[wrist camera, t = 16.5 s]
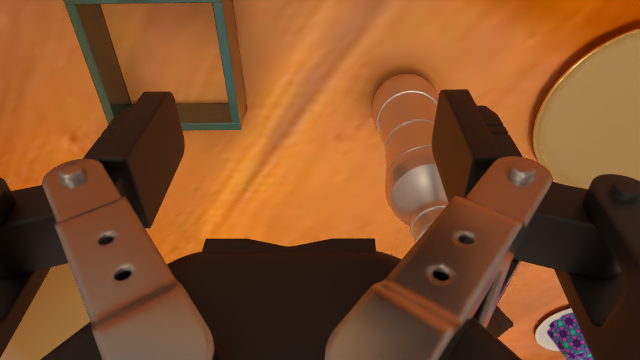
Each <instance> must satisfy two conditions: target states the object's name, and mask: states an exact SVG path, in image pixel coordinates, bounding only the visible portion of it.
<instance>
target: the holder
mask: <svg viewBox="0 0 640 360" xmlns="http://www.w3.org/2000/svg"><path fill="white" fill-rule="evenodd" d="M202 2H213V10H214V16H215V22H216V28H217V34H218V40H219V47H220V53H221V59H222V65H223V71H224V77H225V83H226V90H227V96H228V102H229V103H212V104H176V107H177V111H178V115H179V119H180V123H181V127H182V130H241V129H242V125H243V122H244V118H245V115H246V112H247V105H246V97H245V89H244V82H243V74H242V67H241V60H240V52H239V45H238V37H237V30H236V23H235V15H234V8H233V0H64V3H65V4H66V5H65V6H66V8H67V11H68V14H69V17H70V19H71V22H72V25H73V28H74V30H75V33H76V36H77V39H78V41H79V44H80V47H81V50H82V52H83V55H84V58H85V61H86V64H87V66H88V69H89V72H90V75H91V77H92V80H93V83H94V86H95V88H96V91H97V94H98V97H99V99H100V102H101V105H102V108H103V110H104V113H105V116H106V119H107V121H108V124H110V122H111V121H112V120H113V118H114V117H115V116H117V115H118V114H120V113H121V112H123V111H124V110H126V109H127V108H133V106H134V105H135V104H131V102H130V99H129V96H128V93H127V90H126V87H125V83H124V80H123V77H122V74H121V71H120V68H119V64H118V61H117V58H116V55H115V52H114V49H113V45H112V42H111V39H110V36H109V33H108V30H107V26H106V23H105V20H104V17H103V14H102V11H101V7H100V4H129V3H202Z"/></svg>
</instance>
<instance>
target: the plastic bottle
mask: <svg viewBox="0 0 640 360" xmlns="http://www.w3.org/2000/svg"><path fill="white" fill-rule="evenodd" d="M438 97H439V96H438V94H437V92H436V90H435V89H434V88H433V87H432V86H431V84H430V83H429V82H428V81H427V80H425V79H424V78H422V77H420V76H418V75H414V74H400V75H396V76H394V77H391V78H390V79H388V80H386V81H385V82H384V83H383V84H382V85H381V86H380V87H379V89H378V90H377V92H376V94H375V97H374V100H373V106H372V116H373V120H374V123H375V125H376V128H377V130H378V132H379V133H380V135H381V137H382V140H383V143H384V146H385V152H386V153H385V154H386V180H385V192H386V199H387V201H388V204H389V206H390V207H391V209H392V210H393V212H394V213H395V215H396V216H397V217H398V218H399V219H400V220H401V221H403V222H404V223H406V224H407V225H409V226H410V229H411V234H412V236H413V238H414V241H415V243H416V242H417V241H418V240H419V238H420V237H421V236H422V235H423V234H424V232H425V231H426V230H427V229H428V228H429V226H430V225H431V224H432V223H433V222H434V220H435V219H436V218H437V217H438V216H439V214H440V213H441V212H442V211H443V210H444V208H445V207H446V206H447V205H448V200H447V197H446V194H445V191H444V188H443V185H442V182H441V178H440V175H439V172H438V169H437V166H436V163H435V160H434V157H433V153H432V134H433V128H434V121H435V115H436V109H437V103H438Z"/></svg>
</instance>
